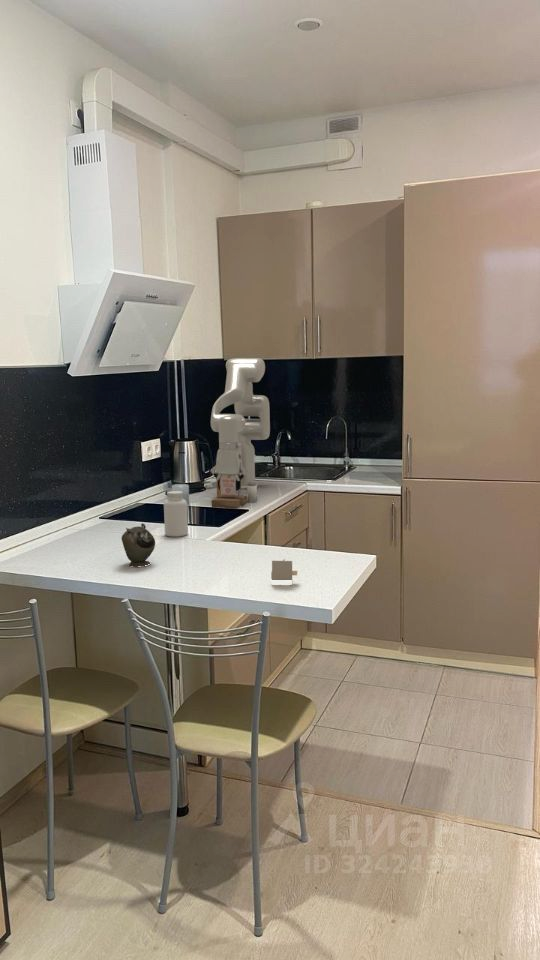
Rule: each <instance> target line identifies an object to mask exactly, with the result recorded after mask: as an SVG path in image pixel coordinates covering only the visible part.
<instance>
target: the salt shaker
mask: <svg viewBox="0 0 540 960" xmlns="http://www.w3.org/2000/svg"><path fill="white" fill-rule="evenodd" d="M256 483H257V482H256V480H255V481H249V482H248V484H247V489H246V490H247V493H246V496H247V502H248V503H250V502H251V504H252V503H257V502H258V487H257V484H256Z"/></svg>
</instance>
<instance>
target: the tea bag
mask: <svg viewBox="0 0 540 960" xmlns="http://www.w3.org/2000/svg"><path fill="white" fill-rule="evenodd" d="M236 481H237V479H236V477H235V475H230V474H222V475H221V477H220V495H225V496H237V495H239V492H238V491H236Z"/></svg>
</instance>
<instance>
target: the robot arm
mask: <svg viewBox="0 0 540 960" xmlns="http://www.w3.org/2000/svg"><path fill="white" fill-rule="evenodd" d="M225 368H226V379H225V388H224V392H223V394H221V395H220V396H219V397H218V398H217V399H216V401H215V402H214V404H213V405H212V409H211V415H210V427H211V430H212V431H213V432H215V433H216V432H217V433H218V444H219V445H218V446H219V447H218V450H217V453H216V463H215V465H214V466H213V467H212V468H211V469H210V471H209V472H210V473H211V474H212V476H213V477H215V479H217V480H218V487H219V490H220V477H221V475H222V474H230V475H235V477H236V479H237V481H236V491H238V490H239V491H240V490H241V489H242V490H244V489H245V490H247V484H248V482H249V481H255V482H256V474H255V473H256V469H255V466H256V465H255V464H256V459H255V453H256V451H255V447H254V445H253V444H252V442H250V441H251V440H252V441H254V440H255V441H258V440H259V441H261V440H267V439H269V437H270V434H271V433H270V432H271V421H270V418H271V417H270V401H269V398H268V397H267V396H266V395H261V394H259V395H258V394H254V392H253V390H254V388H253V383H259V382H260V381H261V380H262V378H263V377H264V374H265V371H266V364H265V361H264V360H263V358H260V357H249V358H248V357H240V358H239V357H237V358H230V359H228V360H227V361H226V363H225ZM231 405H233V406H234V412H235V413H221V411H223V410H224V409H225V408H227V407H229V406H231ZM245 417H258V418H245ZM216 472H217V473H218V474H217V473H216ZM256 484H257V488H259V483H257V482H256Z"/></svg>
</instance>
